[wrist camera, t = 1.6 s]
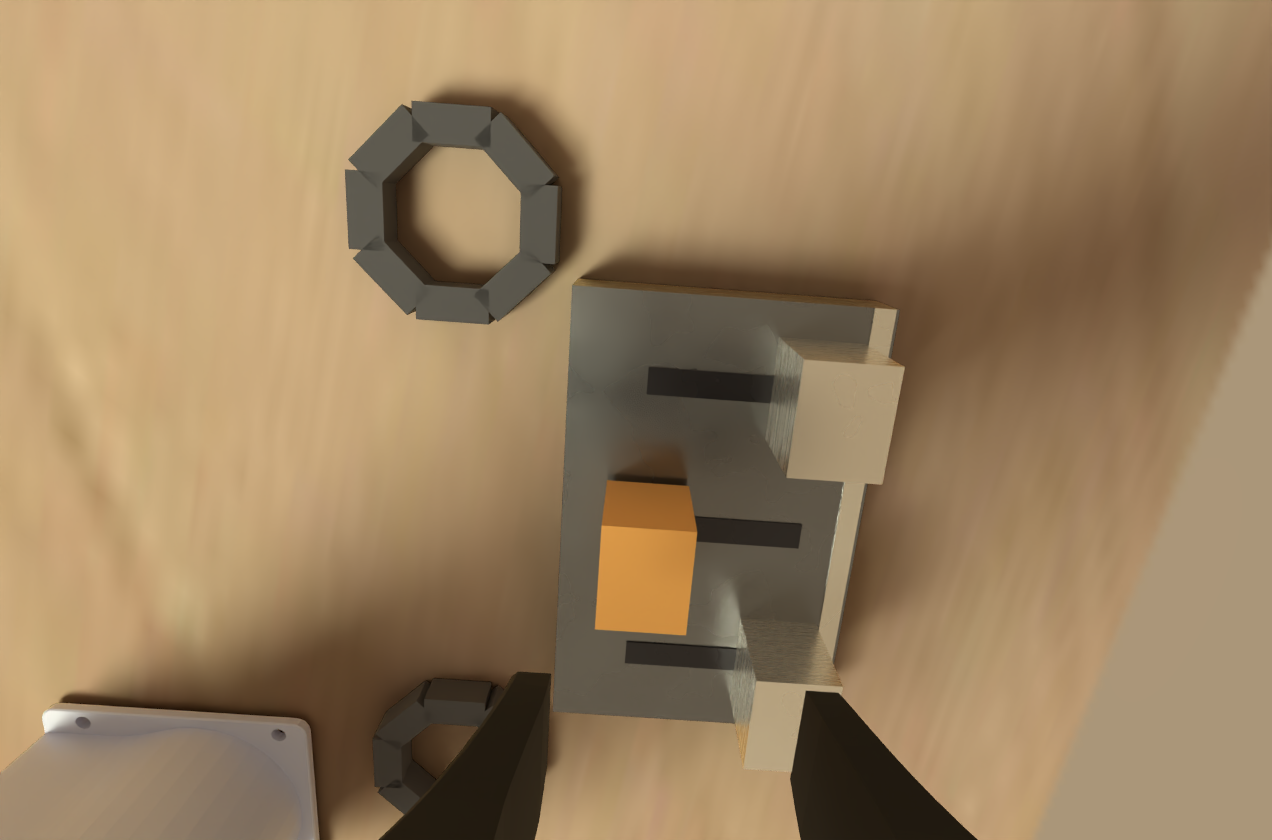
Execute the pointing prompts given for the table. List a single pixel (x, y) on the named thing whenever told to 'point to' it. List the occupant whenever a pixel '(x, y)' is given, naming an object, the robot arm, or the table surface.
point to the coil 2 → (413, 715)
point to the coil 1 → (377, 210)
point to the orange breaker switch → (646, 558)
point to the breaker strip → (723, 494)
